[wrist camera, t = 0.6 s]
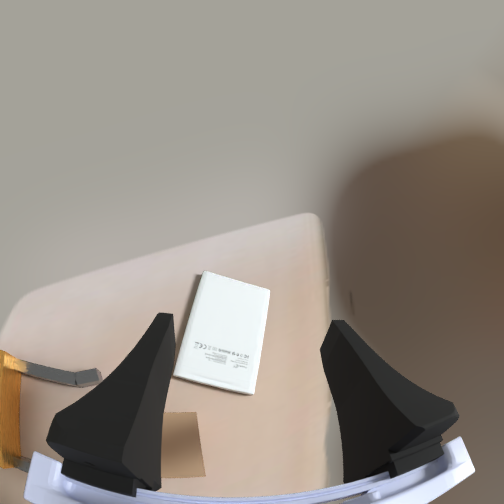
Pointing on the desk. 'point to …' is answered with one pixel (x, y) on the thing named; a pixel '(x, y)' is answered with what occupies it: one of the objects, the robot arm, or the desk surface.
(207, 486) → the desk surface
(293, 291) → the desk surface
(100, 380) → the mounting bracket
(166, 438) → the tan rectangular block
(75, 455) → the robot arm
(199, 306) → the external hard drive
